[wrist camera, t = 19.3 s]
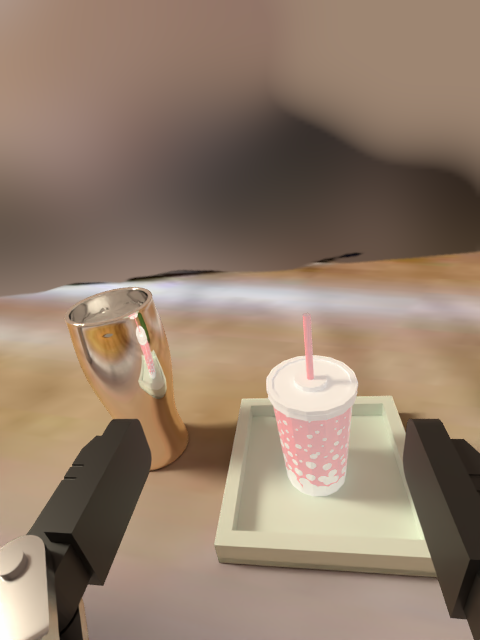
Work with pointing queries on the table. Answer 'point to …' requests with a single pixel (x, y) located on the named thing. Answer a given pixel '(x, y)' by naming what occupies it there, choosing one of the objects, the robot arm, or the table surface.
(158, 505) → the table surface
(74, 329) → the metal tumbler
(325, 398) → the beverage cup
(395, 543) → the tray
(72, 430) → the table surface
